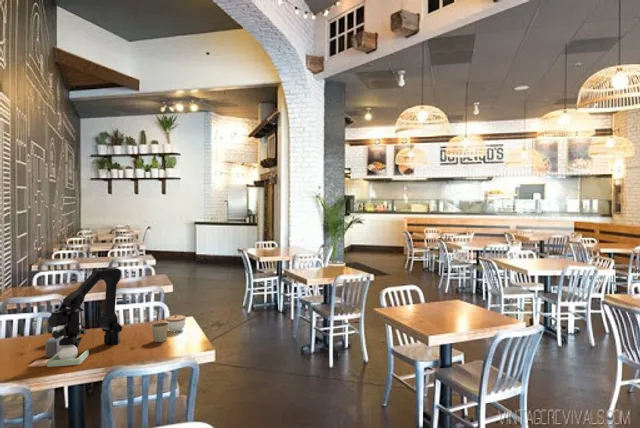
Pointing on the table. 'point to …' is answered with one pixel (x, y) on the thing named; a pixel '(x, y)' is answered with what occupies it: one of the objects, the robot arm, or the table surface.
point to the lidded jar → (176, 322)
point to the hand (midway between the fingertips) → (73, 354)
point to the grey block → (52, 346)
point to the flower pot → (159, 331)
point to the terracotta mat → (39, 363)
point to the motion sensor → (68, 352)
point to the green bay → (66, 360)
